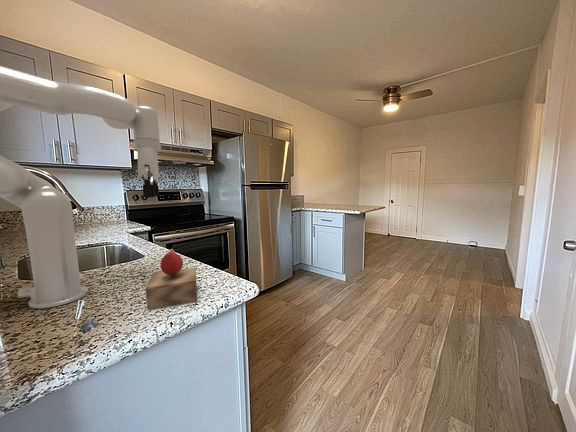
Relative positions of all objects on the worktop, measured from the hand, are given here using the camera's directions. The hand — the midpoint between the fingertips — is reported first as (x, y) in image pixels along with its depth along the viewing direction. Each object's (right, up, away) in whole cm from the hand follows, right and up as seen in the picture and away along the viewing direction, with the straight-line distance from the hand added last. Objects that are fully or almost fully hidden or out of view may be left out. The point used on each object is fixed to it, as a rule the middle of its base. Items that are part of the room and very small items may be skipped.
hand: (151, 196), depth 85 cm
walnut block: (+14, -30, -14) cm, 36 cm away
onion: (+14, -24, -15) cm, 32 cm away
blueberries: (+1, -33, -28) cm, 43 cm away
